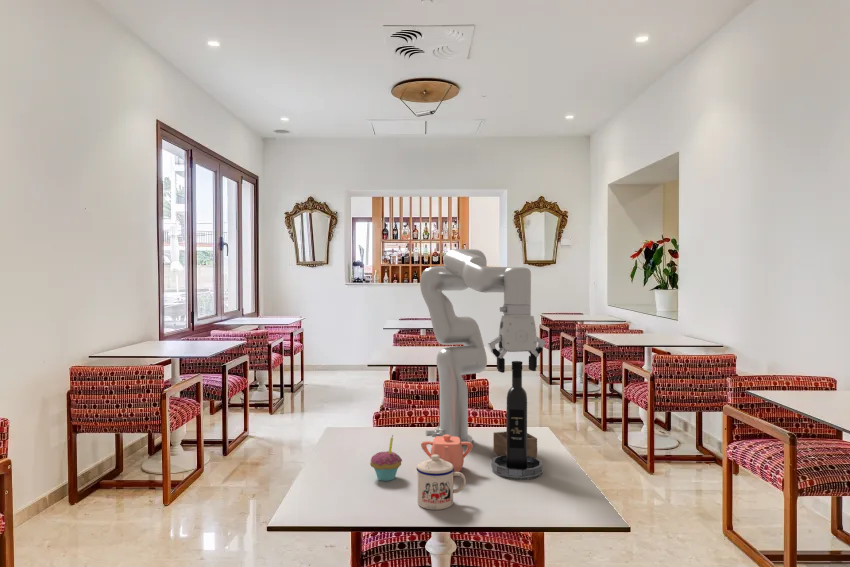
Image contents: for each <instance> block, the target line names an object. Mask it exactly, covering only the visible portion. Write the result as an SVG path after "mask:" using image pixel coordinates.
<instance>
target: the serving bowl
mask: <svg viewBox="0 0 850 567" xmlns="http://www.w3.org/2000/svg"><path fill="white" fill-rule="evenodd" d="M491 468H492V472H493V473H494V474H495V475H496V476H499V477H501V478H505V479H510V480H520V479H521V480H531V479H532V478H533V479H535V478H536V477H537V478H539V477H541V476H542V475H543V461H542V460H541V459H539V458H538V457H537V458H536V457H531V456H527V469H511V468H507V467H506V455H500V456H499V455H498V456H495V457H493V458H492V460H491ZM540 475H541V476H540Z"/></svg>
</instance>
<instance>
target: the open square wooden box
mask: <svg viewBox="0 0 850 567" xmlns="http://www.w3.org/2000/svg"><path fill="white" fill-rule="evenodd" d="M506 445H507V431H496V432H493V452H494V454H496V455H498V456H500V455H506ZM527 456H531V457H536V458H538V437H536V436H533V435H532V434H530V433H528V432H527Z"/></svg>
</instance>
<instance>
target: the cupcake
mask: <svg viewBox="0 0 850 567" xmlns="http://www.w3.org/2000/svg"><path fill="white" fill-rule="evenodd" d="M393 437H394V434H392V436H391V437H390V440H389V441H390V442H389V446H388V447H389V449H388V451H380V452H376V453H375V454H374V455H373V456H371V459H370V463H369V464H370V466H371V468H373V469H374V471H375V474H376V477H377V479H378V480H379V481H384V482H388V481H393V480H394V479H396V475H397V472H398V469H399V468H400V467H401V465H402V462H403V459H402V457H400V455H399V454H398V453H395V452H394V451H392V449H393V448H392V447H393V440H394V438H393Z"/></svg>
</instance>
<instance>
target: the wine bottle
mask: <svg viewBox="0 0 850 567" xmlns="http://www.w3.org/2000/svg"><path fill="white" fill-rule="evenodd" d="M511 371H512V372H511V374H512V375H511V387H510V388H509V389H508V392H507V394H506V395H507V396H506V432H507V445H506V467H507V468H511V469H527V433H528V395H527V391H526V390H525V388H524V387H523V361H521V360H520V361H519V360H512V361H511Z"/></svg>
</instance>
